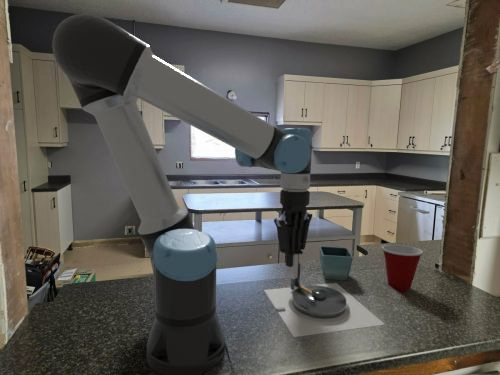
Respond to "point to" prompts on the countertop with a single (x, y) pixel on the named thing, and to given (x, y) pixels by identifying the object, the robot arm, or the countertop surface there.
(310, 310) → the dial
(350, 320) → the panel
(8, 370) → the countertop surface
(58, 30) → the robot arm
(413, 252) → the plastic cup
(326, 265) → the flower pot
